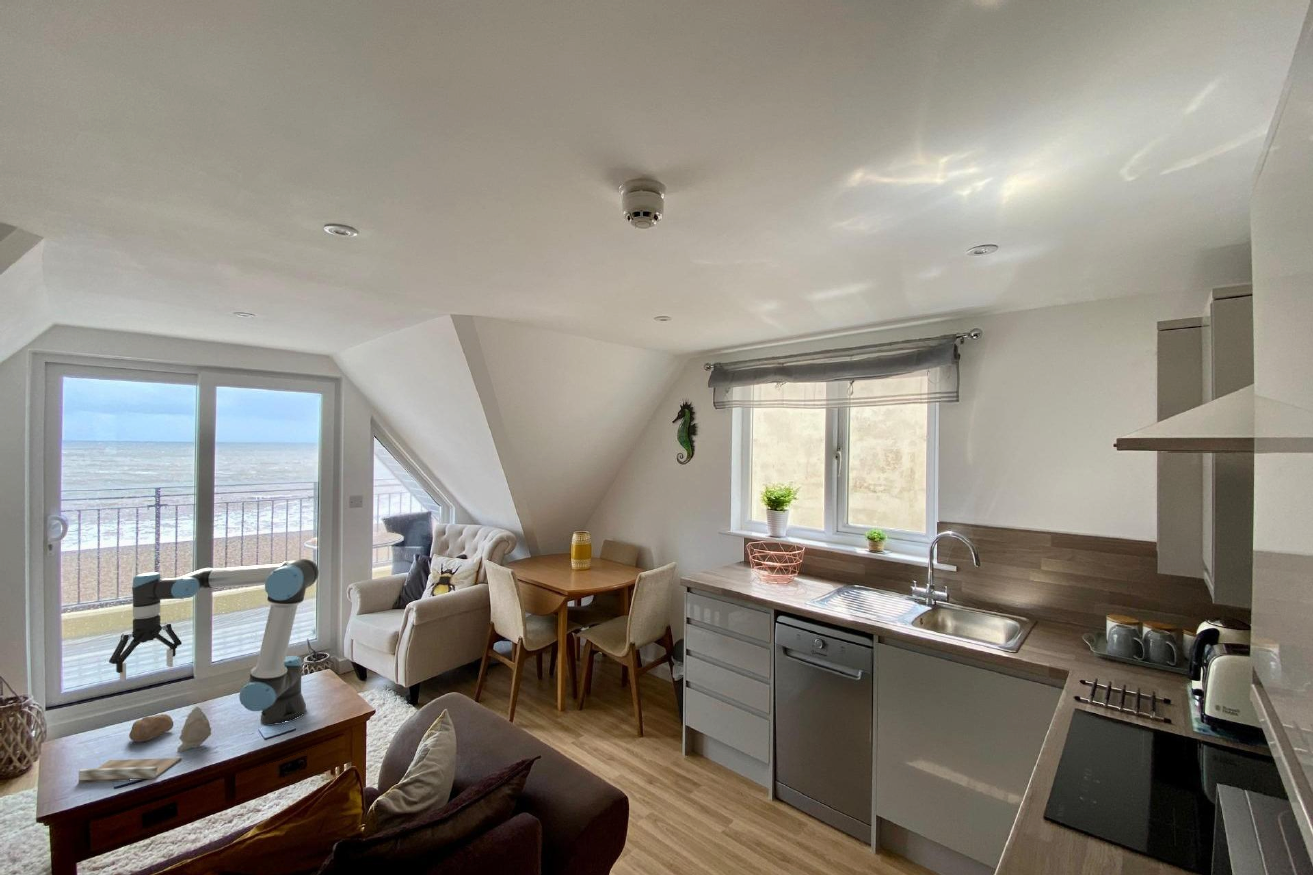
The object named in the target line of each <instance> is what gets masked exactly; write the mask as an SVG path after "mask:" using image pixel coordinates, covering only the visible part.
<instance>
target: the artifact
mask: <svg viewBox="0 0 1313 875" xmlns="http://www.w3.org/2000/svg"><path fill="white" fill-rule="evenodd" d="M180 732H181V733H180V736H179V740H180V742H182V743H181V744H180V745H179V746H178V747H177V753H181V752H184V751H187V750H192V749H193V748H197V747H200V746H201V745H202V744H203V743H204V742H206V741H207V739H208V738H209V737H210V736H212V727H211V724H210V722H209V720H208V717H207V716H206V715H205V713H204V712H203V711H202V708H200V707H198V706H196V707H195V708H193V709H192V710H191V712H190V713H189V714H188V715H187V717H186V719H185V722H184V725H183V727H182V729H181V731H180Z"/></svg>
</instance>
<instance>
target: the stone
mask: <svg viewBox="0 0 1313 875" xmlns="http://www.w3.org/2000/svg"><path fill="white" fill-rule="evenodd" d="M172 728H174V721H173V718H172V716H170V715H168V714H166V713H165V714H164V713H162V714H156V715H154V716H152V715H151V716H145V717H143V718H142V719H140V720H139V719H138V720H136V721H134V723H133V724H132V726H131V730H130V732H129V735H128V737H129V739H130V740H132V741H136V742H138V743H139V742H147V741H150V740H151V739H154V738H157V737H158V736H161V735H163V734H165V733H166V732H169V731H171V730H172Z"/></svg>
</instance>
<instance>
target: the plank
mask: <svg viewBox="0 0 1313 875" xmlns="http://www.w3.org/2000/svg"><path fill="white" fill-rule="evenodd" d="M180 761H182V757H171V758H170V757H169V758H167V757H166V758H165V757H163V758H134V759H109V760H108V761H106V762H105V763H103V764H101V765H100V766H99V767H97V768H80V769H79V770H78V783H79V782H82V783H81V784H85V782H86V783H87V782H88V783H99V782H98V781H108V782H123V781H122V780H129V781H131V780H130V779H150V780H156V779H157V778H158V777H159V776H161V775H162V774H164V773H165V772H167V771H168V770H170V769H171V768H172V767H174V766H175V765H176V764H178V763H179V762H180ZM119 780H121V781H119ZM96 781H97V782H96ZM83 782H84V783H83Z"/></svg>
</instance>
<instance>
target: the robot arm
mask: <svg viewBox="0 0 1313 875" xmlns="http://www.w3.org/2000/svg"><path fill="white" fill-rule="evenodd" d="M319 573H320V570H319V566H318V565H317V564H316V562H314V561H313V560H311V559H307V558H300V559H294V560H285V561H284V562H282V563H275V564H262V565H261V564H260V565H249V566H246V565H245V566H234V567H233V566H232V567H222V568H213V567H204V568H199V569H197V570H195V571H192V572H189V573H187V574H183V575H181V576H178V577H170V578H169V577H168V578H162V576H161V574H160V572H155V571H154V572H144V573H141V574H140V573H139V574H136V575H135V576H134V577H133V579H132V587H131V590H132V617H133V619H132V632H129V633H122V634H121V635H120V641H119V642H118V644H117V646H116V647H115V649H114V652H112V655H111V657H110V659H109V661H108V663H109V664H113V665H115V667H116V668H115V669H116V673H118V674H119V681H121V682H122V683H123V682H126V681H127V662H126V660H127V658H128V657H129V656H130V655H131V654H132V652H133V651H134V650H135V649H136V648H137V646H139V645H140V644H141V643H146V642H149V641H150V642H151V641H153V640H154V639H157V640H158V641H159V642H161V643H162V644H163V645H165V646H167V647H168V648H166V667H168V668H172V667H174V662H173V661H174V658H175V657H176V654H177V653H176V651H177V650H176V649H177V648H178V646H181V645H182V644H183V642H182V641H181V639H180V638H179V637H178V635H177V634H176V633H175V631H174V630H173V629H172V627H173V626H172V623H169V622H165V623H164V624H162V625H161V614H160V613H161V611H162V609H161V600H174V599H175V600H176V599H178V600H184V599H190V598H193V597H194V596H196V594H197V593H198V591H200V590H201V591H202V590H206V589H207V590H209V589H216V588H217V589H218V588H219V589H220V588H231V587H232V588H233V587H247V586H260V585H264V590H265V593H266V594H267V602H268V603H269V604H270V607H269V612H268V616H267V621H266V623H265V624H266V625H265V629H264V633H263V637H262V641H261V646H260V650H259V655H258V658H257V663H256V666H254V667H253V668H251V669H250V672H249V677H248V682H247V683H246V684H245V685H243V687H242V688H241V690H240V691H239V695H238V696H239V699H238V700H239V702H240V704H241V705H242V706H243V707H244V708H245V709H246V710H248V711H251V712H261V713H260V723H261V724H263V725H267V724H275V723H282V722H285V721H290V720H292V721H294V720H293V719H295V718H297V717H299V716H301V715H302V714H303V715H305V713H306V712H307V704H306V701H305V699H304V696H303V694H302V674H303V673H302V668H303V667H302V666H303V664H302V658H301V657H300V656H297V655H288V656H287V653H288V647H289V644H290V641H291V640H290V639H291V635H292V631H293V627H294V624H295V622H294V621H295V618H296V614H297V613H296V612H297V609H298V605H299V604H301V603H302V602H304V601H305V600H304V598H305V594H306V591H307V589H308V588H310V587H311V586H313V584H315V582H317V580H318V578H319ZM162 630H163V631H165V632H166V633H167V635H168V636H169V638H170V639H171V641H170V640H168V639H167V638H165V637H164V636H163V635H161V631H162ZM131 638H133V639H132V640H131V641H130V639H131ZM129 641H130V643H129V644H128V642H129ZM127 644H128V645H127ZM126 646H127V647H126ZM125 647H126V648H125ZM305 711H306V712H305ZM304 712H305V713H304ZM303 715H302V716H303ZM302 716H301V717H302ZM299 718H300V717H299ZM297 719H298V718H297ZM295 720H296V719H295ZM290 722H291V721H290ZM282 724H283V723H282Z"/></svg>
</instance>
